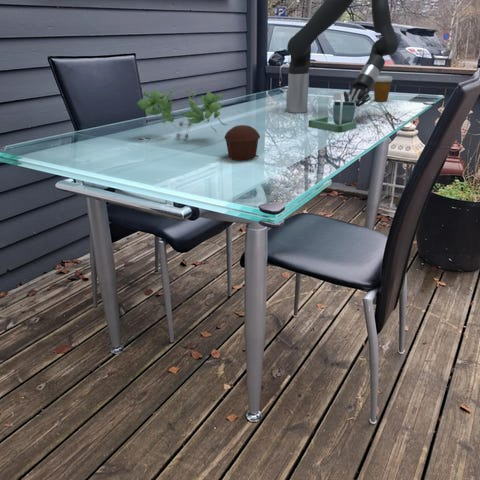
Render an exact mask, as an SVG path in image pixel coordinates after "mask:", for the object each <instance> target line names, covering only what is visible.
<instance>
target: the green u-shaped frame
mask: <svg viewBox="0 0 480 480" xmlns="http://www.w3.org/2000/svg"><path fill="white" fill-rule="evenodd" d="M332 93H333V95H332V99H333V100H335V101H339V102H341V104H340V119H339V125H337V124H335V123H331V122H329V120H328V119H329V116H321V117H318V118H313V119H309V120H308V125H307V127H308V128H309V127H310V128H314V129H318V130H319V129H320V130H324V131H329V132H335V133H339V132H341V133H344V132H347V131H348V132H349V131H350V130H351V131H352V130H355V129H357V124H358V121H354V120H353V121H352V122H349V123H345V124H342V125H341V120H342V106H343V102H344V92H343V93H340V92H332Z"/></svg>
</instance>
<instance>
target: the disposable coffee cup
mask: <svg viewBox="0 0 480 480" xmlns="http://www.w3.org/2000/svg"><path fill="white" fill-rule="evenodd" d="M393 80H394V79H393V76H391V75H379V76H378V78H377V80H376V82H375V83H374V85H373V95H374V97H373V98H374V99H373V101H374V102H375V101H376V102H377V103H387V102H388V99H389V94H390V91H391V85H392V83H393V82H392V81H393ZM376 102H375V103H376Z"/></svg>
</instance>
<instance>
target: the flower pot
mask: <svg viewBox="0 0 480 480" xmlns="http://www.w3.org/2000/svg"><path fill="white" fill-rule="evenodd" d="M332 104H333V105H332V110H333V111H332V112H333V113H332V114H333V116H332V117H333V122H334V124H337V125H339V119H340V104H341V101H333V103H332ZM356 108H357V106H356V102H345V101H343V106H342V120H341V125H342V124H345V123H349V122H353V121H354V117H355V114H356Z"/></svg>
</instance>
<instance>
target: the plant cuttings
mask: <svg viewBox="0 0 480 480" xmlns="http://www.w3.org/2000/svg"><path fill="white" fill-rule="evenodd" d="M168 92H169V93H167V92H165V93H161V91H159V90H157V89H156V90H153V91H152V92H151V93H150V94H149V93H148V92H147V91H144V92H143V95H142V96H143V97H144V96H145V97H144V98H141V99H140V100H138V101H137V104H136V105H137V106H138V107H139V108H140V109H141V110H143V112H144V115H145V116H148V115H152V116H158V115H161V116H160V118H161V123H162V124H166V122H167V121H168V122H170V123H174V120H175V117H173V116H174V115H173V113H172V110H173V109H172V108H173V107H172V106H173V97H172V94H174V90H173V89H168ZM189 92H192V93H193V96H190V93H189ZM185 93H186V94H187V95H186V96H188V100H187V104H186V106H187V109H188V111H187V112H185V113H183V114H179V113H176V116H179V117H184V118H187V119H186V120H187V123H184V121H185V120H181V121H179V123H178V126H179V128H178V130H179V131H178V132H177V133H176V139H178V140H181V137H184V141H185V140H187V139H188V138H189V133H190V131H189V130H191V129H190V128H191V127H192V126H193V125H194V124H200V123H202V122H205V123H209V121H210V118H211V116H212V115H213V117H214V119H216V118H218V121H219V122H220V123H221V124H222V125H224V126H227V124H225V123H223V122H222V121H221V120H220V118H219V116H221V111H219V110H221V109H222V103H221V101H220V99H221V100H223V97H224V96H223V94H220V93H219V94H218V95H217V94H216V95H214V94H213V93H212V92H209V91H208V92H207V93H206V94H205V95H203V94H202V95H201V96H200V99H199V98H198V99H197V100H196V101H195V100H193V99H192V98H194V97H195V96H196V93H194V90H191V89H190V90H186V91H185ZM146 97H147V98H146ZM170 97H171V98H170ZM169 99H170V101H169ZM218 100H219V101H218ZM196 102H197V103H199V104H200V103H204V104H203V105H202V107H201V108H200V107H199V106H198V105H197V104H196ZM188 104H189V106H190V108H189V106H188ZM203 110H204V111H205V112H203ZM171 115H172V116H171ZM184 125H186V126H187V127H188V128H187V129H186V131H187V132H186V133H184V134H182V133H181V132H182V130H183V128H182V127H184ZM173 126H174V127H175V128H177V126H176V125H174V124H173ZM211 128H212V129H213V130H214V131H215V132H216V133H218V132H217V130H216V129H215V128H214V127H212V126H211Z"/></svg>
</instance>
